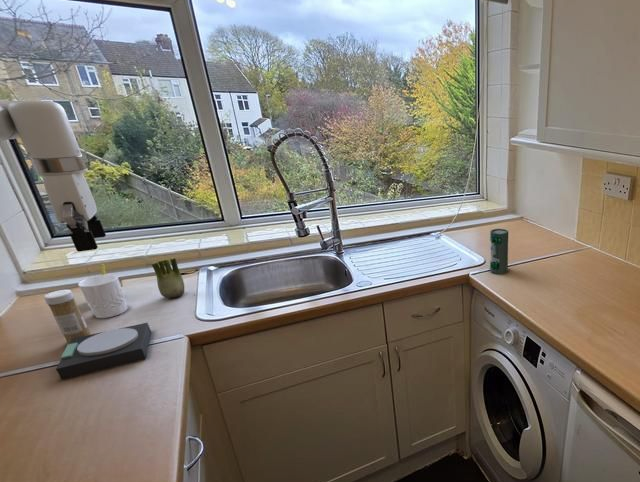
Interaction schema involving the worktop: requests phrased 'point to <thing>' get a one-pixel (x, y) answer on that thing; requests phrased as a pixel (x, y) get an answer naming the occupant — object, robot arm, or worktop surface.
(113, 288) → the white cup
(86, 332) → the sprinkles bottle
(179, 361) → the worktop surface
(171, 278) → the fennel bulb
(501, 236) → the can
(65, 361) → the scale
